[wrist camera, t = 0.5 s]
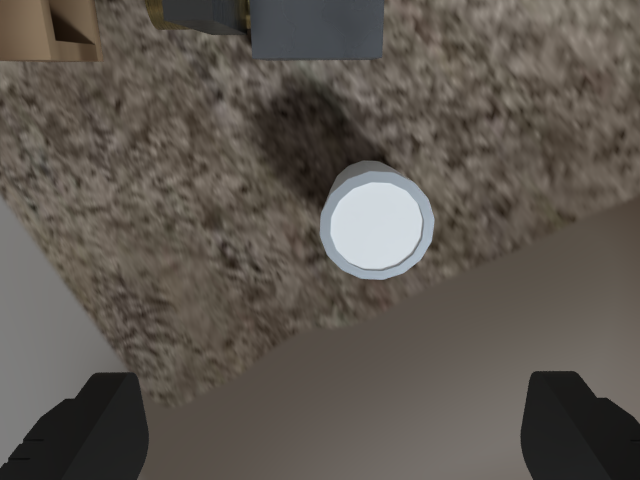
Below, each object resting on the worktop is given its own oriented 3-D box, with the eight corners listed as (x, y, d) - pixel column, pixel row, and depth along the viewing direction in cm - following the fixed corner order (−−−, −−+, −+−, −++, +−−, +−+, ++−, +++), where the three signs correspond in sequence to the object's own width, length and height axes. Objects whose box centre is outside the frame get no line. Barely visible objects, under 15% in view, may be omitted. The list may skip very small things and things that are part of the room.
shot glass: (386, 132, 33) (400, 148, 27) (431, 213, 35) (454, 246, 29) (303, 182, 35) (297, 209, 28) (350, 257, 36) (355, 299, 30)
